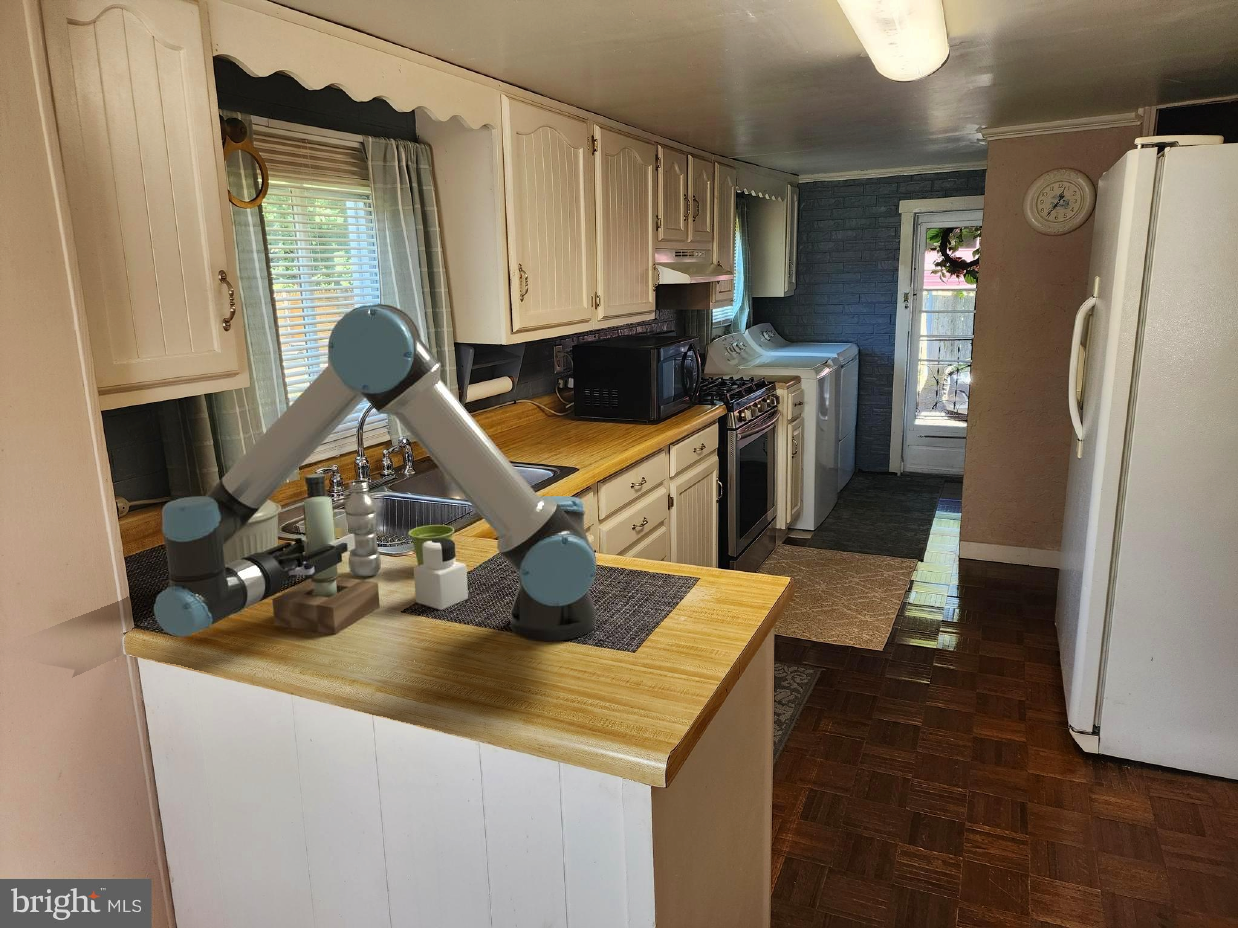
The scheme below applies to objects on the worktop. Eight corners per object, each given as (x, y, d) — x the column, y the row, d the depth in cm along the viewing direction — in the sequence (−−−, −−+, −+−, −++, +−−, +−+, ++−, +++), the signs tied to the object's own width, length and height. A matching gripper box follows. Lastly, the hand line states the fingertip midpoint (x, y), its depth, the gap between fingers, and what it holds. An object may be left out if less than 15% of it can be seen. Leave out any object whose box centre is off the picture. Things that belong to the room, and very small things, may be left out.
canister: (236, 573, 179) (225, 476, 175) (308, 581, 174) (298, 481, 169) (167, 603, 162) (153, 497, 158) (245, 613, 157) (232, 504, 152)
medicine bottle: (443, 591, 167) (439, 533, 164) (468, 598, 163) (465, 539, 160) (415, 602, 161) (410, 542, 158) (441, 610, 157) (437, 549, 154)
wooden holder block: (379, 607, 159) (377, 582, 158) (335, 634, 147) (333, 607, 146) (322, 599, 163) (320, 575, 162) (274, 625, 151) (272, 598, 150)
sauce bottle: (341, 566, 182) (333, 476, 178) (310, 571, 180) (301, 480, 175) (336, 557, 188) (328, 470, 184) (306, 562, 185) (298, 474, 181)
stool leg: (345, 602, 156) (337, 497, 152) (329, 611, 152) (320, 503, 147) (324, 599, 158) (315, 495, 153) (307, 608, 153) (298, 501, 149)
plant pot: (403, 569, 180) (400, 530, 178) (442, 559, 186) (440, 521, 184) (424, 580, 173) (422, 540, 171) (464, 570, 179) (462, 531, 177)
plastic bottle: (369, 567, 181) (362, 476, 177) (388, 574, 177) (381, 481, 173) (343, 575, 176) (335, 482, 172) (362, 582, 172) (354, 487, 168)
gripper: (208, 596, 139) (303, 554, 161) (295, 609, 134) (382, 563, 155) (203, 553, 138) (300, 516, 159) (291, 564, 132) (379, 524, 154)
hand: (340, 539), depth 157 cm, fingers closed on stool leg, 4 cm apart
